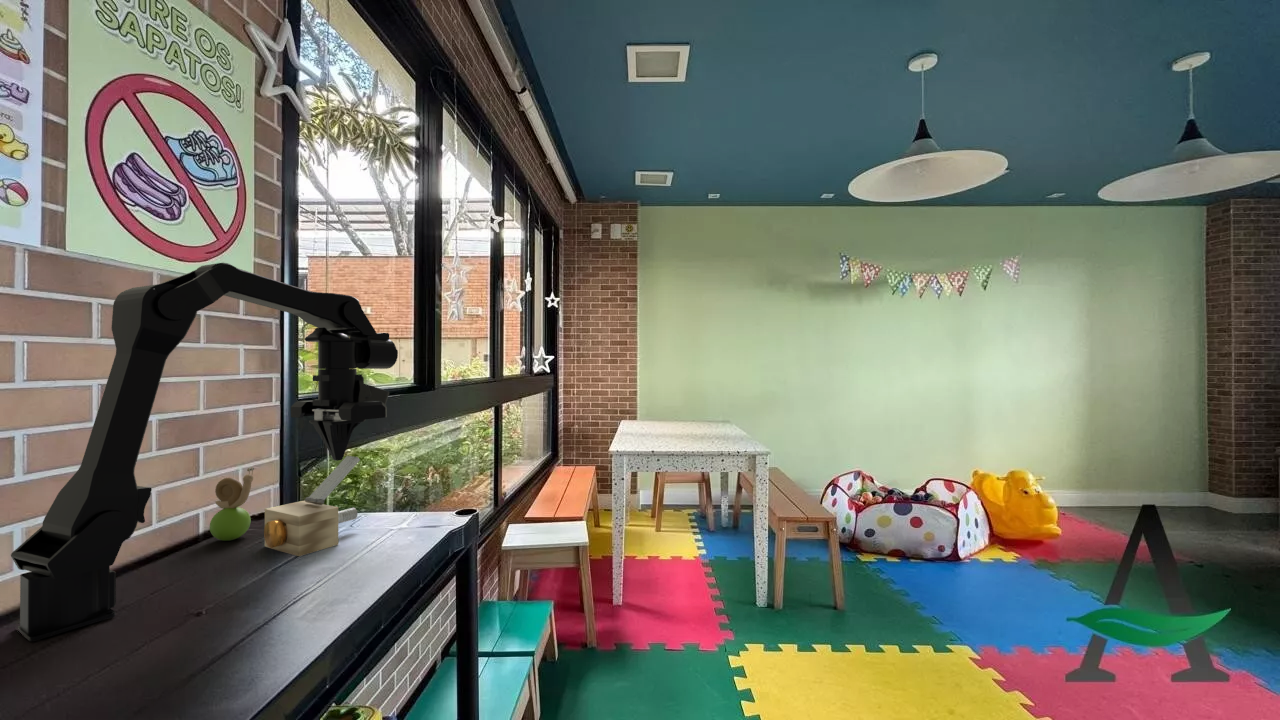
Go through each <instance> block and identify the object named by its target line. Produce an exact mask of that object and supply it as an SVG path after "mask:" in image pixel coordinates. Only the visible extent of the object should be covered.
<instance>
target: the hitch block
mask: <svg viewBox="0 0 1280 720" xmlns="http://www.w3.org/2000/svg"><path fill="white" fill-rule="evenodd" d="M338 511H339V507H338V506H334V505H329V504H322V505H318V504H313V503H307V502H305V500H301V501H295V502H290V503H286V504H282V505H277V506H272V507H267V508H264V526H265V525H266V523H267V522H269V521H273V520H278V519H279V520H281V521H282V522H283V523H284V525H285V524H286V540H285V542H284V544H283V545H281V546H277V547H274V548H270V547H269V546H268V545H267V544H266V542H265V541H264V547H265V548H269V549H272V550H275V551H278V552H283V553H286V554H289V555H291V556H296V557H301V556H302V557H303V556H305V555H309V554H311V553H316V552H318V551H321V550H325V549H328V548H331V547H335V546H338V545H339V524H338Z"/></svg>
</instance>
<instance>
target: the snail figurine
mask: <svg viewBox="0 0 1280 720" xmlns="http://www.w3.org/2000/svg"><path fill="white" fill-rule="evenodd" d="M246 470H247V472H248V473H247V474H246V475H244V476H243V478H242V481H243V484H242V482H240V481H239V479H238V478H234V477H224V478H222V479H220V480H219V481H218V482H217V484H216V486H215V491H214V493H215V496H216V498H217V499H218V500H216V501H215V505H217V507H219V508H220V509H221V510H219V511H217V512H216V513H215V514H214V515H213V516H212V518H211V520H210V522H209V531H210V533H211V535H212V537H214V538H215V539H217V540H219V541H229V542H230V541H234V540H236V539H237V540H238V539H239V538H241V537H242V536H243V535H244V534H245V533H247V531H248V530H249V528H250V526H251V521H252V520H251V516H250V514H249V512H248V511H247V510H246V509H244V508H242V507H241V506H243V505H244V504H245V503H246V502H247V500H248V498H249V496H250V493H251V490H252V482H253V480H254V476H253V472H254V470H255V468H254V467H249V468H247V469H246ZM250 473H251V474H250Z"/></svg>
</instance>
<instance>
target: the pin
mask: <svg viewBox="0 0 1280 720" xmlns="http://www.w3.org/2000/svg"><path fill="white" fill-rule="evenodd" d="M358 514H359V513H358V510H357V509H356V507H350V508H346V509H342V510H338V525H339V524H342V523H346V522H349V521H353V520H356V519H357V518H358ZM263 536H264V543H265V542H266V544H267V545H268V546H269V547H270V548H269V549H272V548H274V547H277V546H281V545H283V544H284V542H285V540H286V524H285V525H284V523H283V522H282V521H281V520H279V519H278V520H273V521H269V522H267V523H266V525H265V524H264V529H263Z"/></svg>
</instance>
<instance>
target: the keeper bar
mask: <svg viewBox="0 0 1280 720" xmlns="http://www.w3.org/2000/svg"><path fill="white" fill-rule="evenodd" d="M360 461H361V459H360V458H359V457H358V456H352V455H346V456H345V458H343V459H342V460H341V461H340V463H339V464H338V465H337V466H336V467H335V468H334V469H333V470H332V471H331V473H330V474H328V476H327V477H326V478H325V479H324V480H323V481H322V482H321V483H320V484H319V485H318V486H317V487H316V489H315V490H314V491H312V493H311V494H310V495H309V496H306V497H305V498H304V501H305V502H307V503H313V504H318V505H322V504H324V503H325V501H326V499H327V498H328V496H329V495H330V494H331V493H332V492H333V491H334V490H335V489H336V488H337V486H338V485H339V484H340V483H341V482H342V481H344V479H345V478H346V476H347V475H348V474H349V473H351V471H352V470H353V469H354V468H355V466H356V465H358V463H359V462H360Z"/></svg>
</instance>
